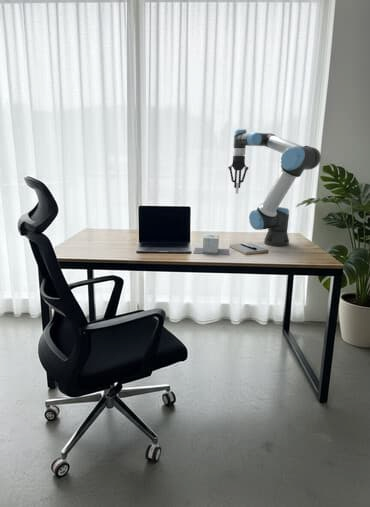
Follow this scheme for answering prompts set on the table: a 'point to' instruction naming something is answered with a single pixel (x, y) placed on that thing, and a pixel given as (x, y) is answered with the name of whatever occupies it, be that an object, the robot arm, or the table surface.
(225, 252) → the felt pad
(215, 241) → the ink box
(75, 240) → the table surface
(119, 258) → the table surface
